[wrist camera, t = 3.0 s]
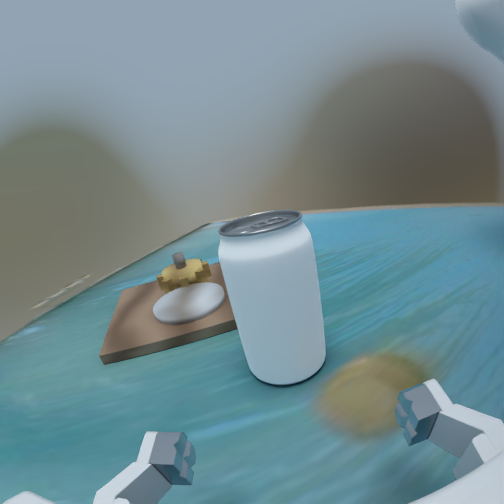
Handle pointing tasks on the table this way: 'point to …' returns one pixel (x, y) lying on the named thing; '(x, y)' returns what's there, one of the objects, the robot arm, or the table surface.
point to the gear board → (169, 311)
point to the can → (274, 294)
